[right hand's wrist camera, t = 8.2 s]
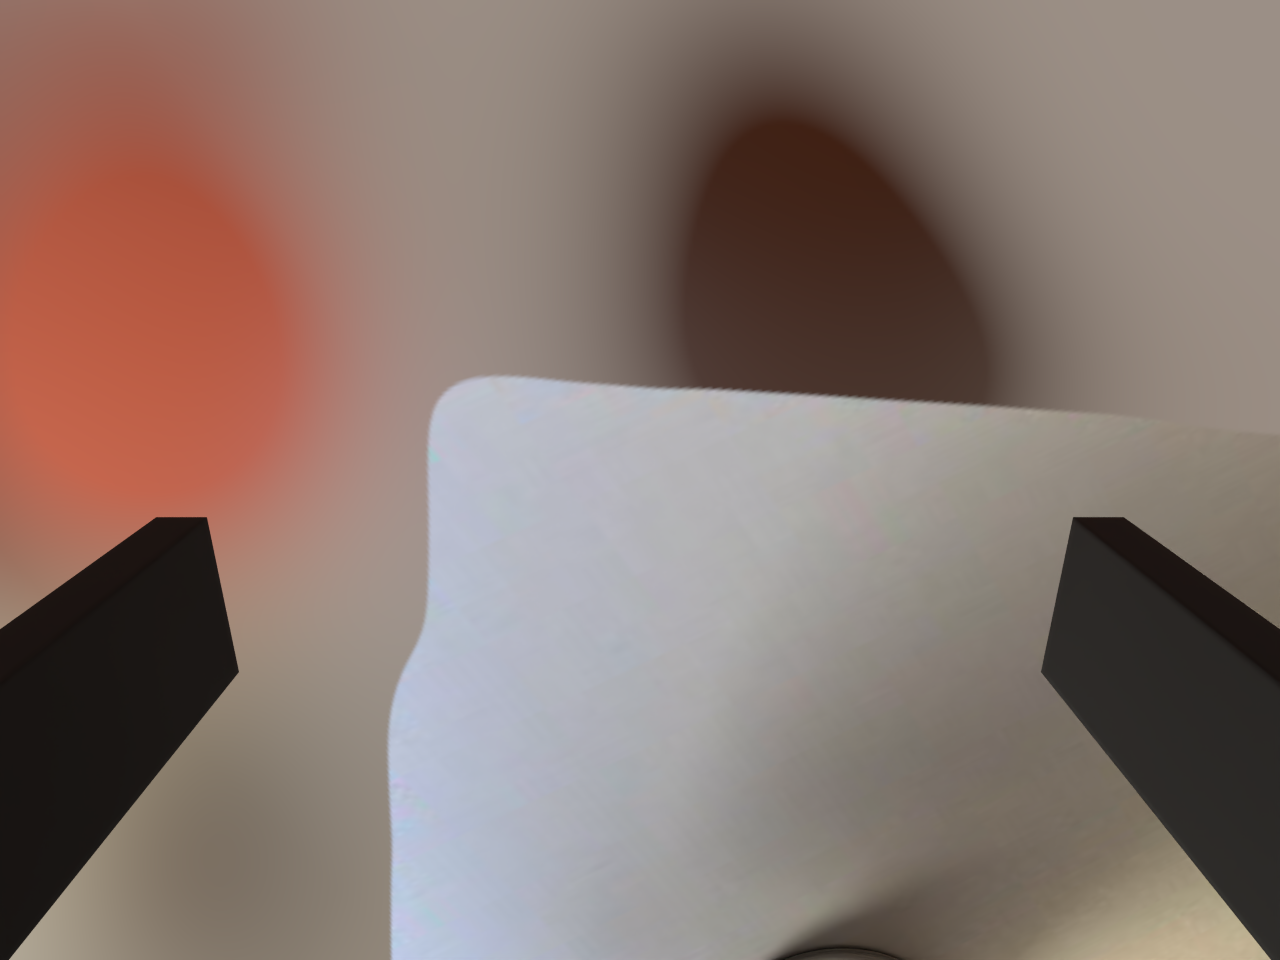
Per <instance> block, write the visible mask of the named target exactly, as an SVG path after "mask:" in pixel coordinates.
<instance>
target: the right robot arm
mask: <svg viewBox="0 0 1280 960" xmlns="http://www.w3.org/2000/svg"><path fill="white" fill-rule="evenodd" d="M238 672H239V670H238V665H237V661H236V656H235V651H234V646H233V641H232V637H231V632H230V627H229V622H228V617H227V612H226V608H225V603H224V598H223V593H222V588H221V584H220V579H219V574H218V569H217V564H216V559H215V555H214V550H213V545H212V540H211V535H210V530H209V525H208V521H207V517H156V518H155V519H153V520H152V521H150V522H149V523H148V524H146V525H145V526H143V527H142V528H141V529H139V530H138V531H137V532H135V533H134V534H132V535H131V536H130V537H128V538H127V539H125V540H124V541H123V542H121V543H120V544H118V545H117V546H116V547H114V548H113V549H111V550H110V551H109V552H107V553H106V554H104V555H103V556H102V557H100V558H99V559H97V560H96V561H95V562H93V563H92V564H91V565H89V566H88V567H86V568H85V569H84V570H82V571H81V572H79V573H78V574H77V575H75V576H74V577H72V578H71V579H70V580H68V581H67V582H65V583H64V584H63V585H61V586H60V587H58V588H57V589H56V590H54V591H53V592H51V593H50V594H49V595H47V596H46V597H45V598H43V599H42V600H40V601H39V602H38V603H36V604H35V605H33V606H32V607H31V608H29V609H28V610H26V611H25V612H24V613H22V614H21V615H20V616H18V617H17V618H15V619H14V620H12V621H11V622H10V623H8V624H7V625H6V626H4V627H3V628H1V629H0V960H9V959H10V958H11V956H12V955H13V954H14V953H15V951H16V950H17V949H18V948H19V946H20V945H21V944H22V943H23V941H24V940H25V939H26V938H27V936H28V935H29V934H30V933H31V931H32V930H33V929H34V928H35V926H36V925H37V924H38V923H39V921H40V920H41V919H42V918H43V916H44V915H45V914H46V913H47V911H48V910H49V909H50V908H51V906H52V905H53V904H54V903H55V901H56V900H57V899H58V898H59V896H60V895H61V894H62V893H63V891H64V890H65V889H66V888H67V886H68V885H69V884H70V883H71V881H72V880H73V879H74V878H75V876H76V875H77V874H78V873H79V871H80V870H81V869H82V868H83V866H84V865H85V864H86V863H87V861H88V860H89V859H90V858H91V856H92V855H93V854H94V853H95V851H96V850H97V849H98V848H99V846H100V845H101V844H102V843H103V841H104V840H105V839H106V838H107V836H108V835H109V834H110V833H111V831H112V830H113V829H114V828H115V826H116V825H117V824H118V823H119V821H120V820H121V819H122V818H123V816H124V815H125V814H126V813H127V811H128V810H129V809H130V808H131V806H132V805H133V804H134V803H135V801H136V800H137V799H138V798H139V796H140V795H141V794H142V793H143V791H144V790H145V789H146V788H147V786H148V785H149V784H150V783H151V781H152V780H153V779H154V778H155V776H156V775H157V774H158V772H159V771H160V770H161V769H162V767H163V766H164V765H165V764H166V762H167V761H168V760H169V759H170V758H171V756H172V755H173V754H174V753H175V751H176V750H177V749H178V748H179V746H180V745H181V744H182V742H183V741H184V740H185V739H186V737H187V736H188V735H189V734H190V733H191V731H192V730H193V729H194V728H195V726H196V725H197V724H198V722H199V721H200V720H201V719H202V717H203V716H204V715H205V714H206V713H207V711H208V710H209V709H210V707H211V706H212V705H213V704H214V702H215V701H216V700H217V699H218V698H219V696H220V695H221V694H222V693H223V691H224V690H225V689H226V687H227V686H228V685H229V684H230V682H231V681H232V680H233V679H234V677H235V676H236V675H237V674H238ZM1041 672H1042V674H1043V675H1044V676H1045V677H1046V679H1047V680H1048V681H1049V682H1050V684H1051V685H1052V686H1053V688H1054V689H1055V690H1056V691H1057V693H1058V694H1059V695H1060V696H1061V698H1062V699H1063V700H1064V701H1065V703H1066V704H1067V705H1068V706H1069V708H1070V709H1071V710H1072V711H1073V713H1074V714H1075V715H1076V716H1077V718H1078V719H1079V720H1080V721H1081V723H1082V724H1083V725H1084V726H1085V728H1086V729H1087V730H1088V731H1089V733H1090V734H1091V735H1092V736H1093V738H1094V739H1095V740H1096V741H1097V743H1098V744H1099V745H1100V746H1101V748H1102V749H1103V750H1104V751H1105V753H1106V754H1107V755H1108V756H1109V758H1110V759H1111V760H1112V761H1113V763H1114V764H1115V765H1116V766H1117V768H1118V769H1119V770H1120V771H1121V773H1122V774H1123V775H1124V776H1125V778H1126V779H1127V780H1128V781H1129V783H1130V784H1131V785H1132V786H1133V788H1134V789H1135V790H1136V791H1137V793H1138V794H1139V795H1140V796H1141V798H1142V799H1143V800H1144V801H1145V803H1146V804H1147V805H1148V806H1149V808H1150V809H1151V810H1152V811H1153V813H1154V814H1155V815H1156V816H1157V818H1158V819H1159V820H1160V821H1161V823H1162V824H1163V825H1164V826H1165V828H1166V829H1167V830H1168V831H1169V833H1170V834H1171V835H1172V836H1173V838H1174V839H1175V840H1176V841H1177V843H1178V844H1179V845H1180V846H1181V848H1182V849H1183V850H1184V851H1185V853H1186V854H1187V855H1188V856H1189V858H1190V859H1191V860H1192V861H1193V863H1194V864H1195V865H1196V866H1197V868H1198V869H1199V870H1200V871H1201V873H1202V874H1203V875H1204V876H1205V878H1206V879H1207V880H1208V881H1209V883H1210V884H1211V885H1212V886H1213V888H1214V889H1215V890H1216V891H1217V893H1218V894H1219V895H1220V896H1221V898H1222V899H1223V900H1224V901H1225V903H1226V904H1227V905H1228V906H1229V908H1230V909H1231V910H1232V911H1233V913H1234V914H1235V915H1236V916H1237V918H1238V919H1239V920H1240V921H1241V923H1242V924H1243V925H1244V926H1245V928H1246V929H1247V930H1248V931H1249V933H1250V934H1251V935H1252V936H1253V938H1254V939H1255V940H1256V941H1257V943H1258V944H1259V945H1260V946H1261V948H1262V949H1263V950H1264V951H1265V953H1266V954H1267V955H1268V956H1269V958H1270V959H1271V960H1280V629H1279V628H1277V627H1276V626H1275V625H1273V624H1272V623H1270V622H1269V621H1268V620H1266V619H1265V618H1263V617H1262V616H1261V615H1259V614H1258V613H1256V612H1255V611H1254V610H1252V609H1251V608H1249V607H1248V606H1247V605H1245V604H1244V603H1242V602H1241V601H1240V600H1238V599H1237V598H1235V597H1234V596H1233V595H1231V594H1230V593H1229V592H1227V591H1226V590H1224V589H1223V588H1222V587H1220V586H1219V585H1217V584H1216V583H1215V582H1213V581H1212V580H1210V579H1209V578H1208V577H1206V576H1205V575H1203V574H1202V573H1201V572H1199V571H1198V570H1196V569H1195V568H1194V567H1192V566H1191V565H1189V564H1188V563H1187V562H1185V561H1184V560H1183V559H1181V558H1180V557H1178V556H1177V555H1176V554H1174V553H1173V552H1171V551H1170V550H1169V549H1167V548H1166V547H1164V546H1163V545H1162V544H1160V543H1159V542H1157V541H1156V540H1155V539H1153V538H1152V537H1150V536H1149V535H1148V534H1146V533H1145V532H1143V531H1142V530H1141V529H1139V528H1138V527H1137V526H1135V525H1134V524H1132V523H1131V522H1130V521H1128V520H1127V519H1125V518H1124V517H1073V521H1072V525H1071V530H1070V535H1069V540H1068V545H1067V550H1066V554H1065V559H1064V564H1063V569H1062V574H1061V579H1060V583H1059V588H1058V593H1057V598H1056V603H1055V608H1054V612H1053V617H1052V622H1051V627H1050V632H1049V636H1048V641H1047V646H1046V651H1045V656H1044V661H1043V665H1042V670H1041ZM784 960H899V959H897V958H894V957H891V956H889V955H886V954H882V953H878V952H874V951H869V950H862V949H849V948H837V949H824V950H817V951H811V952H807V953H803V954H799V955H796V956H793V957H790V958H787V959H784Z"/></svg>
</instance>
